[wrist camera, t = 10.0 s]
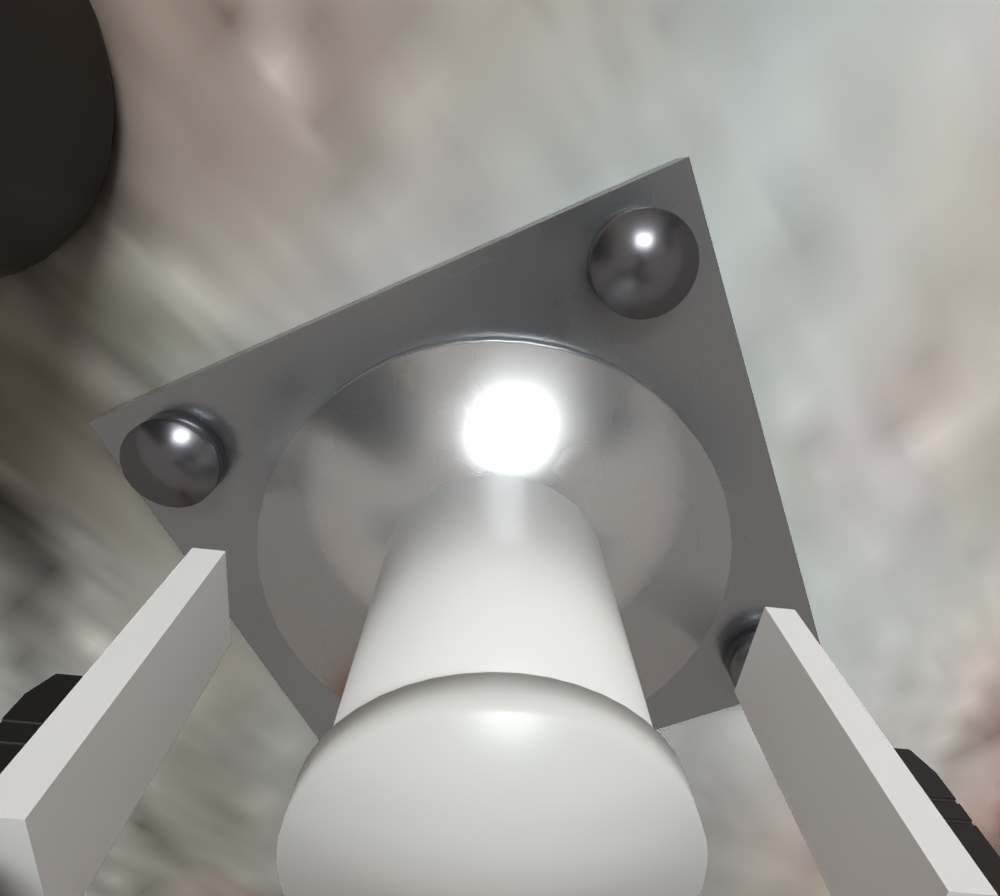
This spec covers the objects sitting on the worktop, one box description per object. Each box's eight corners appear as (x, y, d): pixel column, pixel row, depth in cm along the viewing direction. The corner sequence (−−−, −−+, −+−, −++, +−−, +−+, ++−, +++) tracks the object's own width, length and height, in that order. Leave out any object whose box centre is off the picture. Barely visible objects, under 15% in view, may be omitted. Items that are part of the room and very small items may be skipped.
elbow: (380, 449, 15) (271, 693, 8) (636, 478, 16) (762, 739, 8) (364, 722, 19) (280, 1066, 12) (573, 741, 19) (622, 1086, 12)
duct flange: (676, 158, 14) (698, 154, 13) (813, 654, 20) (840, 693, 19) (110, 409, 17) (70, 432, 15) (379, 788, 22) (370, 834, 21)
